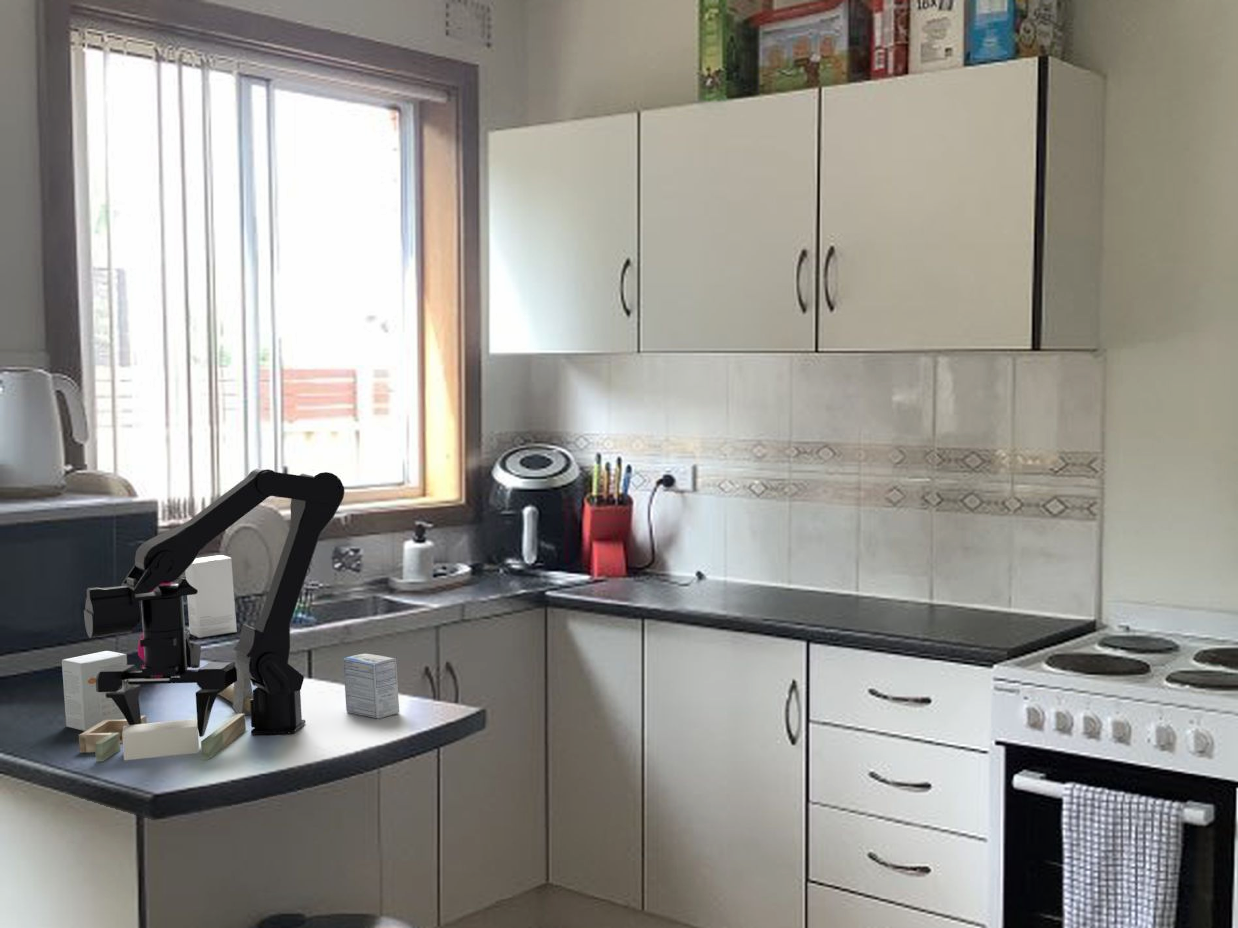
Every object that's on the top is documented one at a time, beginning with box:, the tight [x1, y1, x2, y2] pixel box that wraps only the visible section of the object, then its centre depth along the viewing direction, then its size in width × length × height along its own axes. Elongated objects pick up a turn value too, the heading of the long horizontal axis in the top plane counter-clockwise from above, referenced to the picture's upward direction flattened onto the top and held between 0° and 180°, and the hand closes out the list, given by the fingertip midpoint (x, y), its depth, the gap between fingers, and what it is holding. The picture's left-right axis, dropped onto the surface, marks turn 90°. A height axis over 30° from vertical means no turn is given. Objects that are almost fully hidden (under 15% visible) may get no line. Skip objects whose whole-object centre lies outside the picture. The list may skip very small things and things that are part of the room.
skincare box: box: [184, 554, 238, 639], centre depth 303 cm, size 8×7×16 cm
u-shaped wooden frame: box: [78, 713, 247, 762], centre depth 213 cm, size 20×16×2 cm
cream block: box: [122, 717, 200, 761], centre depth 210 cm, size 10×5×4 cm, turn 106°
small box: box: [61, 650, 128, 732], centre depth 228 cm, size 8×6×10 cm
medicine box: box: [342, 653, 400, 720], centre depth 228 cm, size 8×4×9 cm, turn 47°
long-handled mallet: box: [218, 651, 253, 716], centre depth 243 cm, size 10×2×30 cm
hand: (170, 736), depth 212 cm, fingers open, 9 cm apart
